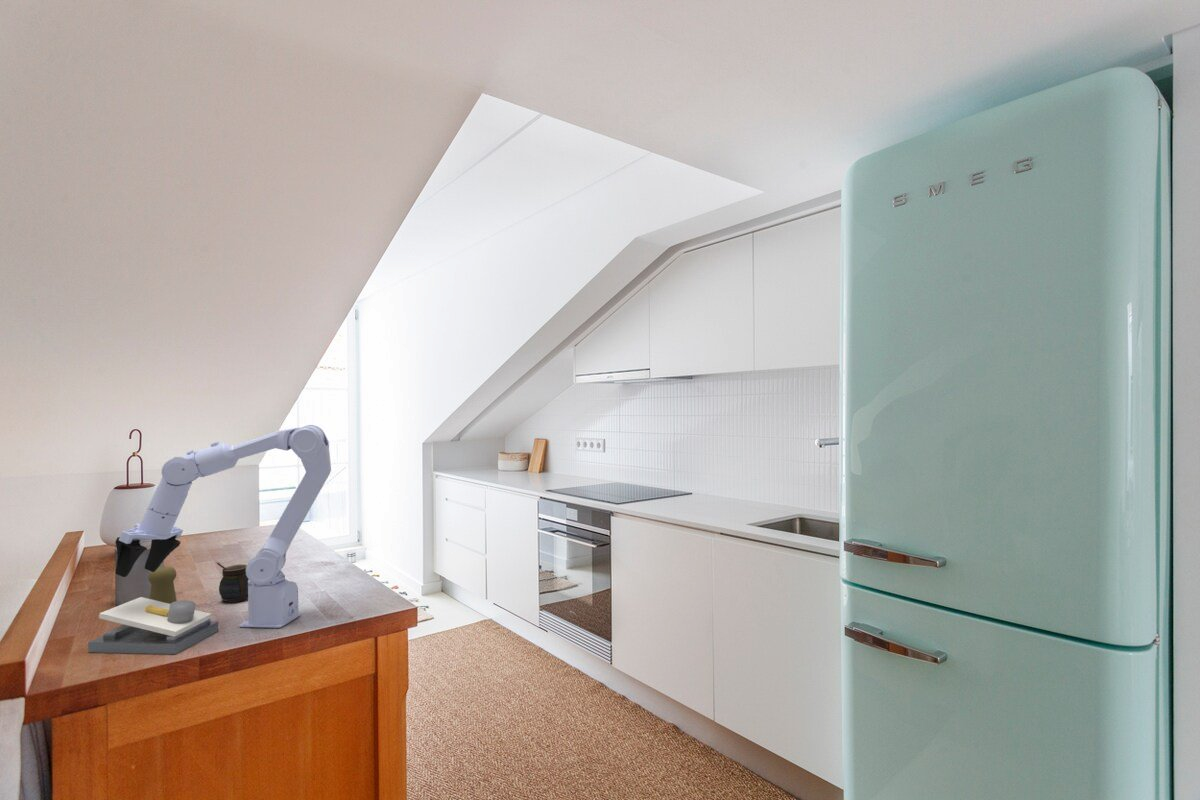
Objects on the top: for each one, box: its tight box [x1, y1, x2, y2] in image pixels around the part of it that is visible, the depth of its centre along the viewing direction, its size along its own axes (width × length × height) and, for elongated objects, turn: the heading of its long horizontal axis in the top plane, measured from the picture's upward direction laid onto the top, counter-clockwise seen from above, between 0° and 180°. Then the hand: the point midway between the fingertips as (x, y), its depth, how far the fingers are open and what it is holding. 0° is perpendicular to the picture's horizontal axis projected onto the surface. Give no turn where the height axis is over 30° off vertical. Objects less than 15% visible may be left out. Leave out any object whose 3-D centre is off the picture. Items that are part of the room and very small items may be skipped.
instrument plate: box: [98, 597, 212, 637], centre depth 127 cm, size 16×10×4 cm, turn 86°
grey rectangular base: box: [87, 618, 219, 655], centre depth 127 cm, size 18×12×3 cm, turn 85°
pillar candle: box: [114, 540, 165, 607], centre depth 153 cm, size 10×10×15 cm
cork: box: [148, 566, 178, 604], centre depth 142 cm, size 6×6×11 cm
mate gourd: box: [216, 562, 249, 603], centre depth 153 cm, size 7×8×10 cm
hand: (135, 572), depth 131 cm, fingers open, 7 cm apart
